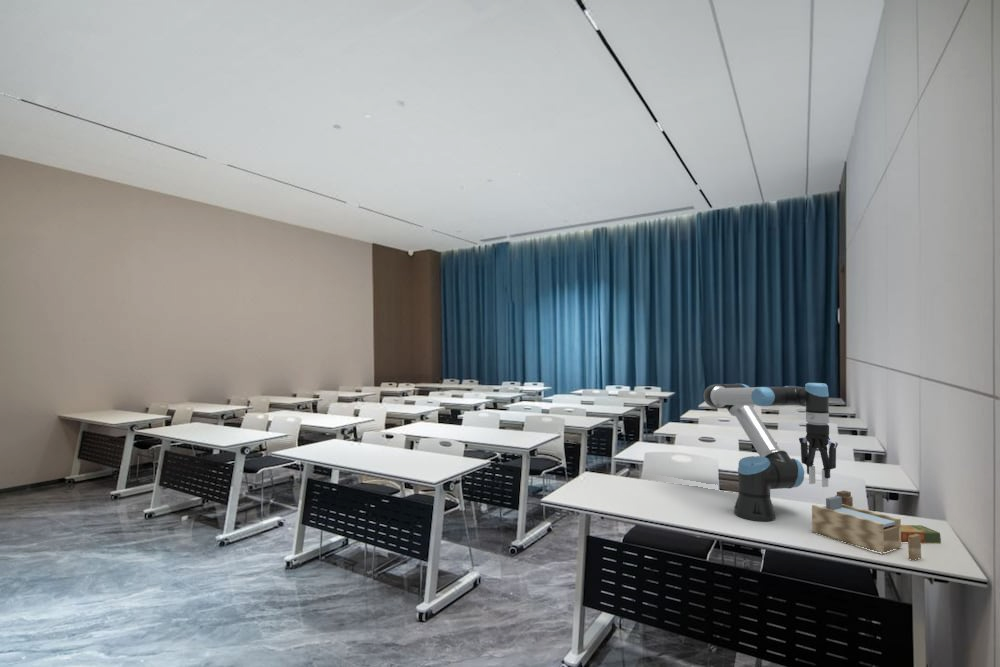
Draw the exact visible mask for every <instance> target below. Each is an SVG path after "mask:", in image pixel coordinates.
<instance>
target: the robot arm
mask: <svg viewBox="0 0 1000 667" xmlns="http://www.w3.org/2000/svg"><path fill="white" fill-rule="evenodd" d="M829 398H830V394H829V386H828V385H827V383H823V382H822V383H821V382H807V383H805V385H804V386H803V387H802V386H796V385H785V386H755V387H750V386H749V385H747V384H744V383H737V382H735V383H715V384H710V385H709V386H707V387H706V388H705V389H704V392H703V400H704V402H705V403H706V405H708V406H709V407H711V408H713V409H727V411H728V412H729V414H730V416H733V417H735V418H736V419H737V421H738V423H739V425H740V426H741V428H742V429H743V430H744V433H745V435H747V437H748V439H749V441H750V442H751V444H752V446H753V448H754V449H755V451H756V452H757V454H758V455H759V456H758V455H757V456H755V455H754V456H753V455H752V456H746V457H742V458H740V459H739V461H738V468H737V472H738V496H737V499H736V502H735V505H734V510H733V512H734V515H736V516H737V517H739V518H741V519H745V520H749V521H756V522H771V521H775V520H776V510H775V509H774V506H773V503H772V500H771V490H779V489H792V488H793V489H794V488H798V487H800V486H801V485H802V484H803V482H804V480H805V470H804V469H805V468H804V466H803V465H806V473H807V475H808V483H809V484H810V485H814V484H816V466H815V464H814V460H815V456H816V453H817V452H816V451H817V449H818V451H819V454H820V457H821V462H822V466H823V468H821V487H822V488H828V487H829V479H831V470H833V469H836V468H837V447H838V446H839V444H838V442H834V441H833V440H831V439H830V425H829V423H830V414H829V413H830V411H829V410H830V406H829V405H830V404H829V402H830V401H829V400H830V399H829ZM755 406H758V407H775V406H776V407H777V406H779V407H780V406H781V407H782V406H800V407H805V421H806V423H805V431H806V435H805V436H804V437H799V438H798V441H799V444H800V457H801V458H800V459H801V462H800V460H798V459H796V458H794V457H793V458H791V457H790V455H789V454H788V452H787V451H786V450H784V449H780V447H779V446H778V444H777V443H776V442H777V441H775V439H774V437H772V435H771V433H770V431H769V430H768V428H767V427H766V426H765V424H764V423H763V421H762V419H761V418H760V416H759V415H758V413H757V411H756V410H755V408H754V407H755ZM809 484H808V485H809Z"/></svg>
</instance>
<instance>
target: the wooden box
mask: <svg viewBox="0 0 1000 667" xmlns="http://www.w3.org/2000/svg"><path fill="white" fill-rule="evenodd" d="M823 507H824V506H819V505H815V504H813V505H811V520H812V521H811V522H812V523H811V524H812V526H811V527H812V528H811V529H812V530H811V531H812V533H813V532H814V533H813V534H816V533H817V534H816V535H819V534H820V536H822V535H823V537H825V536H826V538H828V537H829V539H831V538H832V540H834V539H835V541H838V540H839V541H838V542H841V541H843V542H842V543H844V542H846V543H845V544H847V543H850V544H853V545H857V546H860V547H864V548H867V549H870V550H874V551H877V552H881V553H883V552H887V551H890V550H893V549H898V548H900V547H901V548H902V543H901V525H902V524H901V523H902V522H901V518H899V517H898V518H897V517H894V516H890V515H887V514H882V513H878V512H874V511H871V510H868V509H863V508H860V507H859V508H858V507H856V506H853V507H852V506H848V505H844V504H842V507H843V508H847V509H850V510H854V511H858V512H862V513H866V514H869V515H873V516H877V517H881V518H884V519H888V520H892V521H895V525H891V526H888V527H884V528H883V524H882V523H878V522H875V521H871V520H867V519H864V518H860V517H856V516H853V515H849V514H845V513H842V512H838V511H834V510H831V509H827V508H823ZM850 544H849V545H850ZM853 545H852V546H853ZM907 546H908V560H909V559H911V560H910V561H912V560H915V559H917V560H919V559H918V558H920V559H922V548H921V547H922V543H921V535H919V534H914V535H910V536H908V543H907ZM898 550H899V549H898ZM915 561H916V560H915Z"/></svg>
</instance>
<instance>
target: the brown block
mask: <svg viewBox="0 0 1000 667" xmlns="http://www.w3.org/2000/svg"><path fill="white" fill-rule="evenodd" d="M835 496H839V497H842V504H844V505H848V506H852V507H854V503H853V496H852V493H851V491H848V490H841V491H836V495H835Z"/></svg>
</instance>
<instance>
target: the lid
mask: <svg viewBox="0 0 1000 667" xmlns="http://www.w3.org/2000/svg"><path fill="white" fill-rule="evenodd" d="M822 507H823V508H827V509H831V510H834V511H838V512H842V513H845V514H849V515H853V516H856V517H860V518H864V519H867V520H871V521H875V522H878V523H882V524H883V528H884V527H888V526H891V525H895V521H892V520H888V519H884V518H881V517H877V516H873V515H869V514H866V513H862V512H858V511H854V510H850V509H847V508H843V507H842V497H839V496H836V495H835V496H831V497H827V498H825V505H824V506H822Z"/></svg>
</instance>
